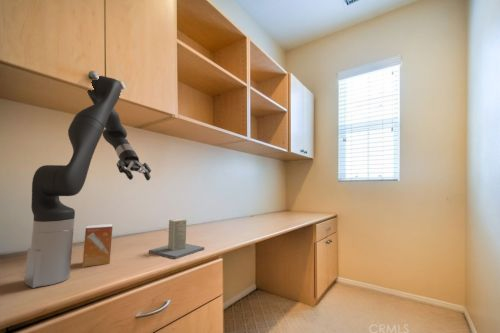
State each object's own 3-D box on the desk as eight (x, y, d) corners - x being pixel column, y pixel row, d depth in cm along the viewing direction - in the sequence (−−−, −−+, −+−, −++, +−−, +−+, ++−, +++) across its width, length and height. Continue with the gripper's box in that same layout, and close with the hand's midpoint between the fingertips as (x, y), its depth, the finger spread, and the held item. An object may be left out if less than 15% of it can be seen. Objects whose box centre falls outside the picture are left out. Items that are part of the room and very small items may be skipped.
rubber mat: (175, 259, 87) (175, 256, 87) (148, 252, 95) (148, 250, 95) (204, 249, 100) (204, 247, 101) (178, 244, 109) (178, 242, 109)
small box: (82, 267, 77) (85, 227, 78) (83, 262, 82) (85, 225, 83) (110, 263, 81) (112, 226, 82) (109, 258, 86) (112, 223, 87)
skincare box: (181, 246, 102) (182, 218, 103) (186, 248, 98) (187, 219, 100) (167, 248, 97) (168, 219, 98) (172, 250, 94) (173, 220, 95)
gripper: (115, 146, 103) (129, 171, 96) (144, 151, 115) (158, 173, 108) (108, 159, 105) (121, 184, 98) (137, 162, 117) (150, 184, 111)
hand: (140, 178), depth 103 cm, fingers open, 8 cm apart
